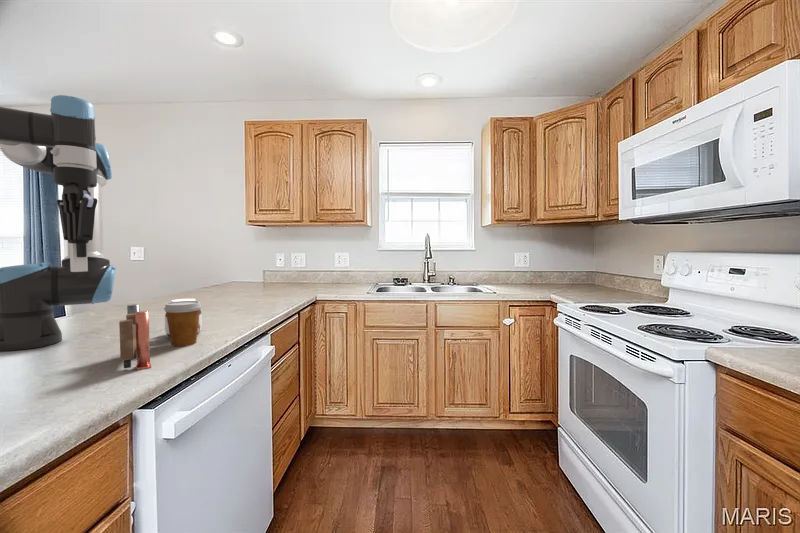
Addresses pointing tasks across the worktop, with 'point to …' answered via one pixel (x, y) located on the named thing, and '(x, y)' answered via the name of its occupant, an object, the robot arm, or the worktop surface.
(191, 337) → the disposable coffee cup
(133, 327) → the gate
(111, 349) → the worktop surface
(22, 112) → the robot arm
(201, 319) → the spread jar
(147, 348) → the gate posts
